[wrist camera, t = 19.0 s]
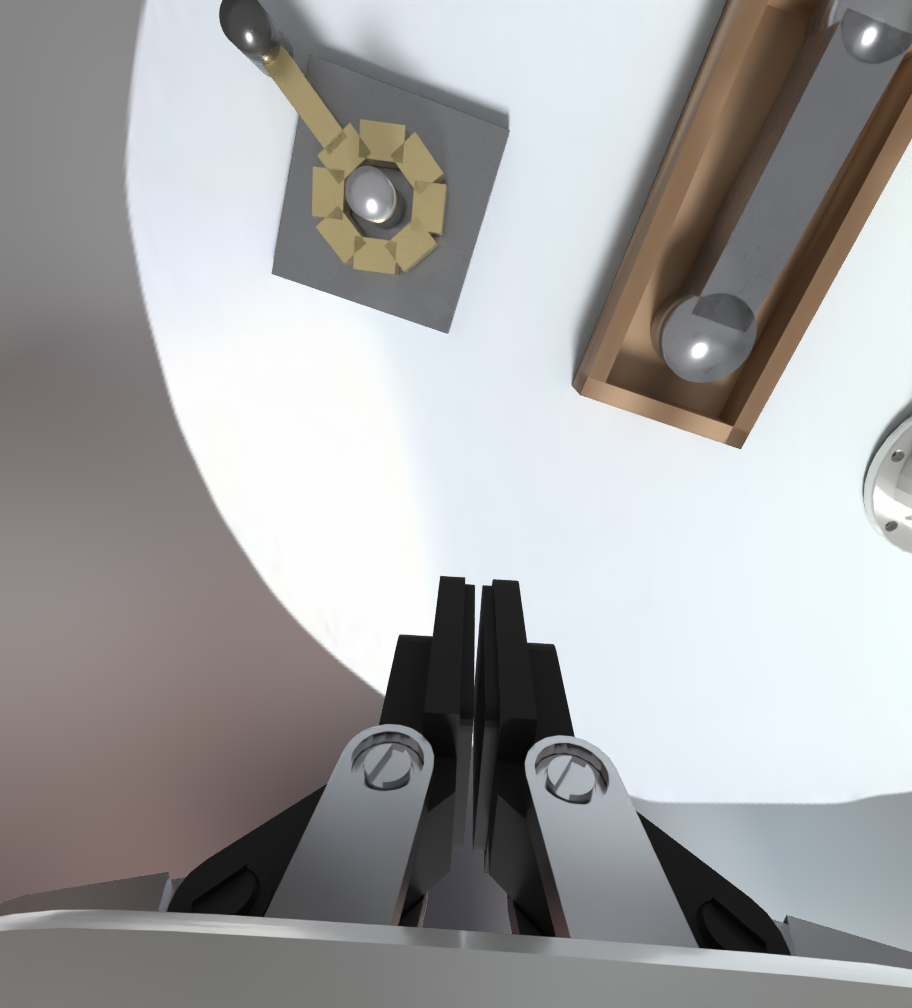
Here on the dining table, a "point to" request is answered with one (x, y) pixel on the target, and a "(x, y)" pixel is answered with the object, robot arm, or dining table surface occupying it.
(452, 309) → the nut base
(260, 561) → the dining table surface
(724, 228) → the silver dumbbell
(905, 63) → the tray
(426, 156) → the ring nut
